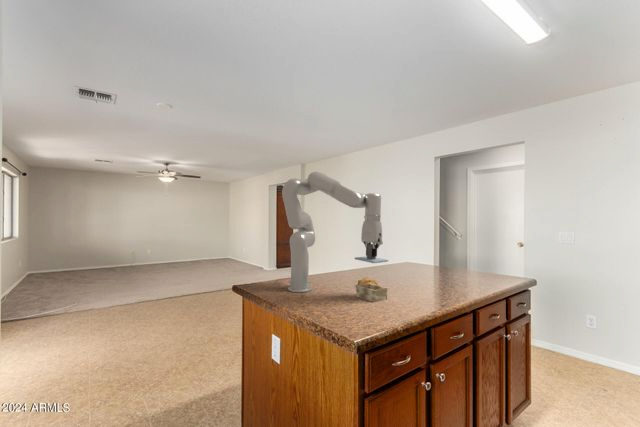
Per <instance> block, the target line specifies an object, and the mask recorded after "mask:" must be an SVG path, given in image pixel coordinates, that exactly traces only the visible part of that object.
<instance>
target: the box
mask: <svg viewBox="0 0 640 427" xmlns="http://www.w3.org/2000/svg"><path fill="white" fill-rule="evenodd" d="M355 291H356V293H355V294H356V295H355V296H356V298H358V299H359V298H360V299H363V300H366V301H369V302H372V303H379V302H382V301H385V300H388V287H384V286H381V285H374V284H370V283H368V284H363V285H358V284H357V285H356V290H355Z"/></svg>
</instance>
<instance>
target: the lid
mask: <svg viewBox="0 0 640 427" xmlns="http://www.w3.org/2000/svg"><path fill="white" fill-rule="evenodd" d="M372 249H373V243H371V244H367V256H366V255H365V256H358V257H354V260H358V261H362V262H367V263H371V264H379V263H388V262H389V259H385V258H380V257H372Z"/></svg>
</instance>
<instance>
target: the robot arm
mask: <svg viewBox="0 0 640 427" xmlns="http://www.w3.org/2000/svg"><path fill="white" fill-rule="evenodd" d="M318 191H320V192H321V193H323V194H325V195H328V196H330V197H332V198H333V199H335V200H336V201H338V202H339V203H342V204H344V205H346V206H348V207H349V208H353V209H363V208H364V216H363V217H364V218H363V219H364V221H363V223H362V226H361V227H362V228H361V234H360V235H361V242H362V243H363V244H364V248H365V256H367V244H373V249H372V257H376V258H378V249H379V247H380V246H381V245H383V227H382V226H383V225H382V222H381V214H382V195H381V194H380V193H374V192H373V193H361V192H356V191H353V190H352V189H349V188H347V187H345V186H343V185H342V184H341V183H340V181H338V180H336V179H334V178H332V177H329V176H328V175H327V174H325V173H323V172H319V171H312V172H310V173H309V174H308V176H307V178H306V179H301V178H291V179H288V180H287V181H286V182H285V183H284V185H283V187H282V191H281V195H282V196H281V197H282V201H283V203H284V209H285V214H286V218H287V223H288V226H289V228H291V229H292V230H297V231H295V232H293V233H292V234H291V236H290V238H289V248H290V280H289V281H288V284H289V286H288V287H287V291H289V292H291V293H306V292H307V293H308V292H310V291H311V290H312V286H310V285H309V251H308V248H310V247H313V246H314V244H315V241H316V234H315V228H314V225H313V219H312V217H311V215H310V214H309V213H308V212H305V211H303V210H302V207H301V201H300V200H299V197H298V196H299V195H300V196H306V195H307V196H308V195H310V194H313V193H316V192H318Z"/></svg>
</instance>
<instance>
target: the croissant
mask: <svg viewBox="0 0 640 427" xmlns="http://www.w3.org/2000/svg"><path fill="white" fill-rule="evenodd" d="M368 283H370V284H374V285H378V283H377V282H376V280H375V279H373V278H372V277H368V276H367V277H364V278H362V279H359V280H358V281H357V286H358V285H363V284H368ZM378 286H379V285H378Z"/></svg>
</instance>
